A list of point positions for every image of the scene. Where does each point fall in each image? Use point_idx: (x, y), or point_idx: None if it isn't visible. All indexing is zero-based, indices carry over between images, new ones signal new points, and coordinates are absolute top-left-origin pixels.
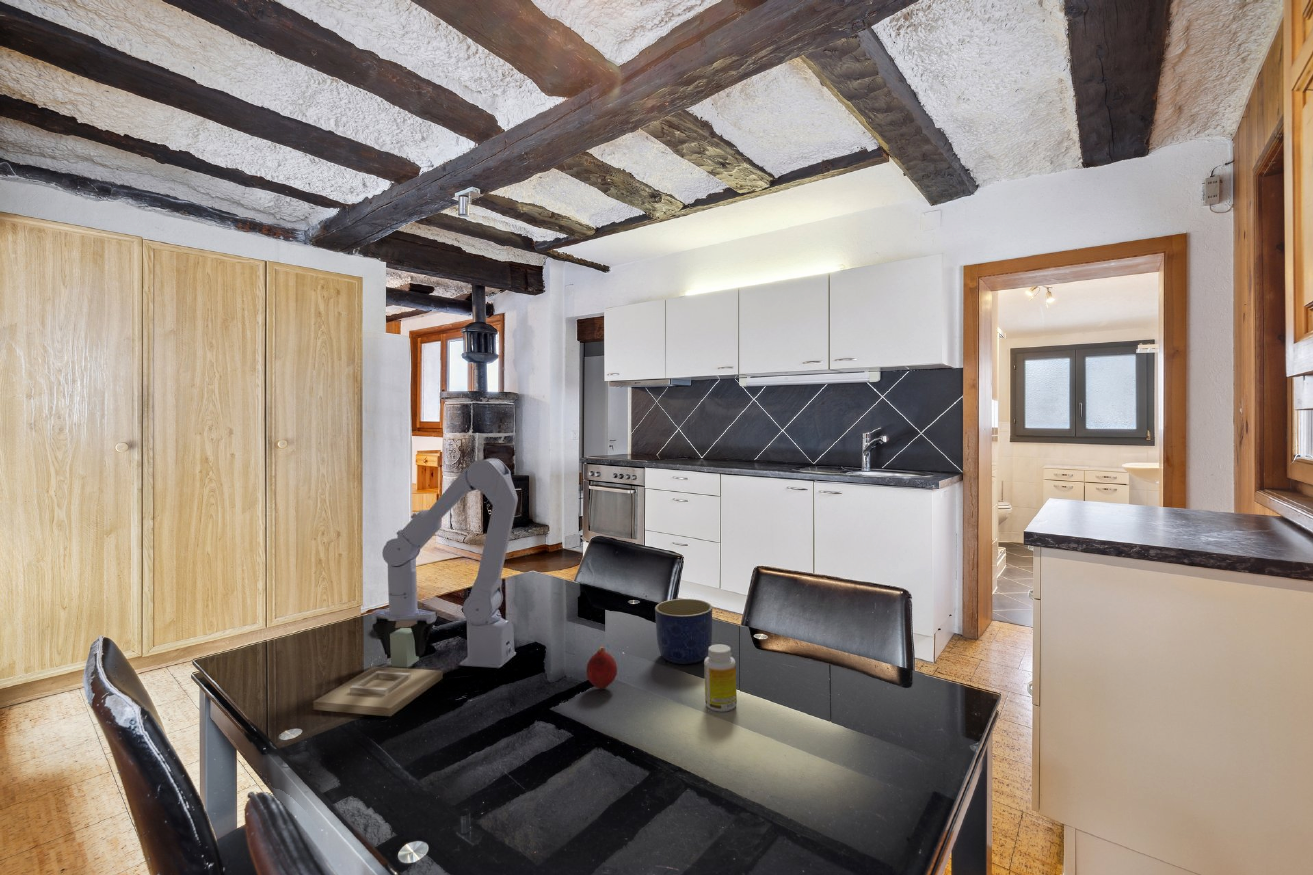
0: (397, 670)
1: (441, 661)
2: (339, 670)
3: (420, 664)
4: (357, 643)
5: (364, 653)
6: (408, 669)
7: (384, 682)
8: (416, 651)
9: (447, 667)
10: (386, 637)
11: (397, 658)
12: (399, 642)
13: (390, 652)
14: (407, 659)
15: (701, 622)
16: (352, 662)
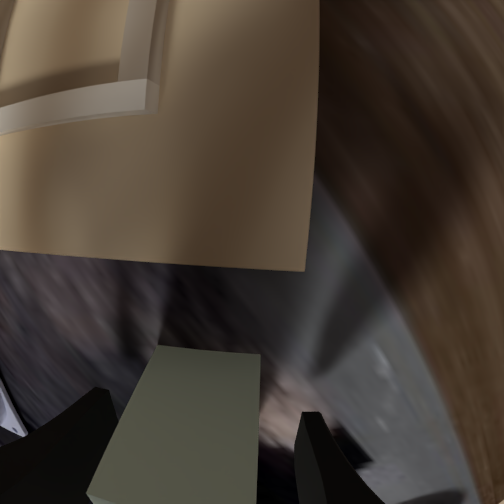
0: (87, 219)
1: (66, 390)
2: (497, 272)
3: (120, 371)
4: (484, 458)
5: (451, 427)
6: (44, 242)
7: (63, 48)
8: (86, 402)
9: (7, 333)
10: (317, 501)
11: (210, 380)
12: (169, 459)
13: (298, 430)
14: (144, 371)
15: None
16: (473, 357)
